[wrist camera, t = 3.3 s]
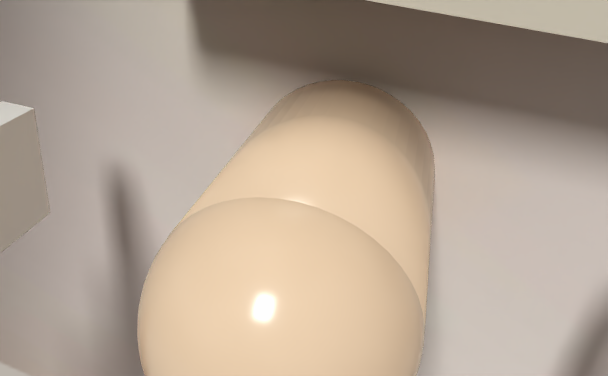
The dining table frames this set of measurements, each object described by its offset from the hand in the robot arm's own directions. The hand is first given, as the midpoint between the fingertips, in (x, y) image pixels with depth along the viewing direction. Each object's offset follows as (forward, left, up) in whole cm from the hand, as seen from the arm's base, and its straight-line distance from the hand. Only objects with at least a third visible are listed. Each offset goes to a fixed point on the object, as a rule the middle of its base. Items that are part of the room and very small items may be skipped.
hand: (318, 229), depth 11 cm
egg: (0, 0, -3) cm, 3 cm away
